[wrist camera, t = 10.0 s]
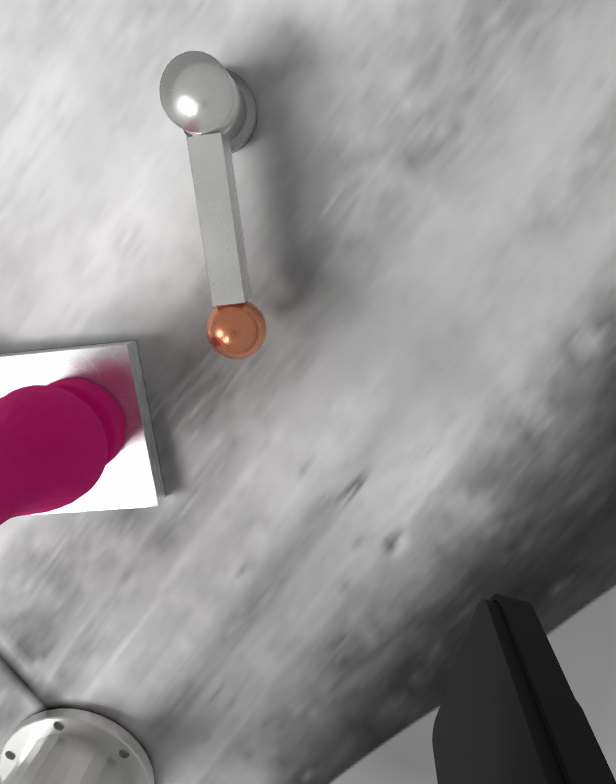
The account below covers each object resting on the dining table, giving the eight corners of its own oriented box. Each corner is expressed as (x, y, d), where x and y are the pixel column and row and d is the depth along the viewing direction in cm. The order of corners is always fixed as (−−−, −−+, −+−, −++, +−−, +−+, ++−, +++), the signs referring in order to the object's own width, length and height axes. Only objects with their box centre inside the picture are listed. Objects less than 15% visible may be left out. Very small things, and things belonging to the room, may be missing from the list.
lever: (179, 79, 31) (151, 55, 27) (242, 70, 31) (223, 43, 27) (221, 352, 35) (202, 367, 31) (277, 347, 35) (266, 361, 31)
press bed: (303, 487, 38) (275, 607, 25) (-46, 510, 41) (-225, 628, 28) (251, 65, 32) (179, -50, 19) (-157, 130, 35) (-450, 66, 22)
